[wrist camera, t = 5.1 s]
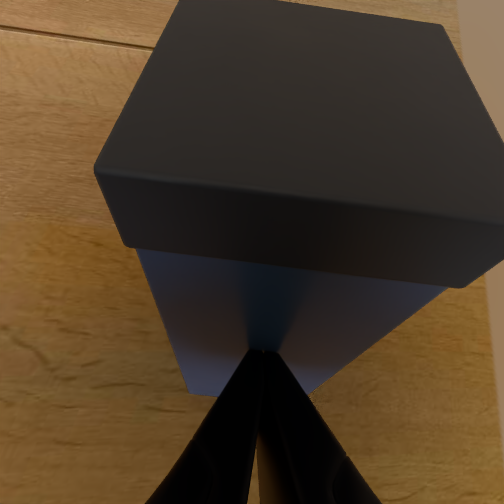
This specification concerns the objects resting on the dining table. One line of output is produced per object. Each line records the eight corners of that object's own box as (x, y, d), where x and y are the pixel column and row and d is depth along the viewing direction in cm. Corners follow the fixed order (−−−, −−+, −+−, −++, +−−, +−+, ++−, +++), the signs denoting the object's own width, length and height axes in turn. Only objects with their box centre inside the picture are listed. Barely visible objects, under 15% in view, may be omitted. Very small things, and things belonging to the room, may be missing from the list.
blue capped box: (296, 408, 15) (553, 228, 4) (186, 396, 15) (87, 167, 4) (297, 306, 18) (443, 23, 7) (205, 295, 18) (184, -16, 6)
